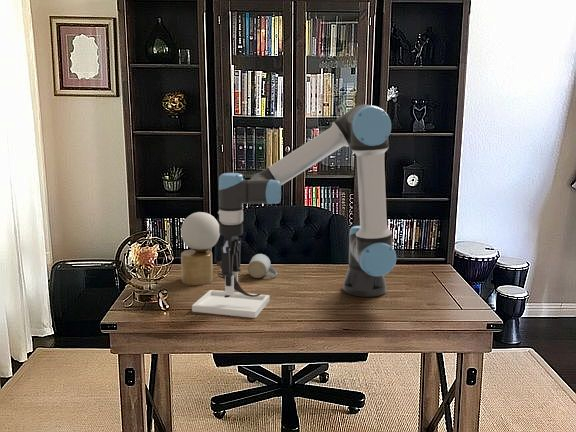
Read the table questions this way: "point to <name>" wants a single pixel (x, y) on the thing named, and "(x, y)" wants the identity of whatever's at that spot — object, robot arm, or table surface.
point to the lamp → (198, 248)
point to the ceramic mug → (261, 267)
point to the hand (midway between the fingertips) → (231, 292)
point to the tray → (231, 304)
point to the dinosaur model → (236, 285)
